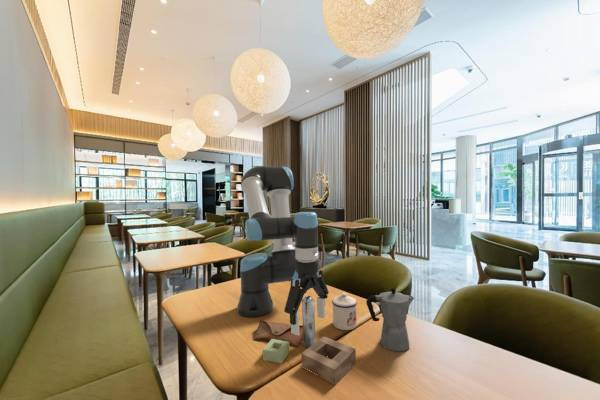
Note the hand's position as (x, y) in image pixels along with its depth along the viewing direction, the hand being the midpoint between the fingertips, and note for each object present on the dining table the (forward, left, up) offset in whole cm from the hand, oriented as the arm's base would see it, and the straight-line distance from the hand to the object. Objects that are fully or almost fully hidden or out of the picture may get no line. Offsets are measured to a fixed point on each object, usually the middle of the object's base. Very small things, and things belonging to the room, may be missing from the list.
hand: (309, 325), depth 82 cm
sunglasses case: (-11, -3, -7) cm, 13 cm away
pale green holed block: (-4, -11, -6) cm, 13 cm away
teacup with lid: (+3, +19, -6) cm, 20 cm away
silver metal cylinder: (0, 0, -6) cm, 6 cm away
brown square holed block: (+11, -5, -6) cm, 13 cm away
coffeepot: (+21, +16, -6) cm, 27 cm away
